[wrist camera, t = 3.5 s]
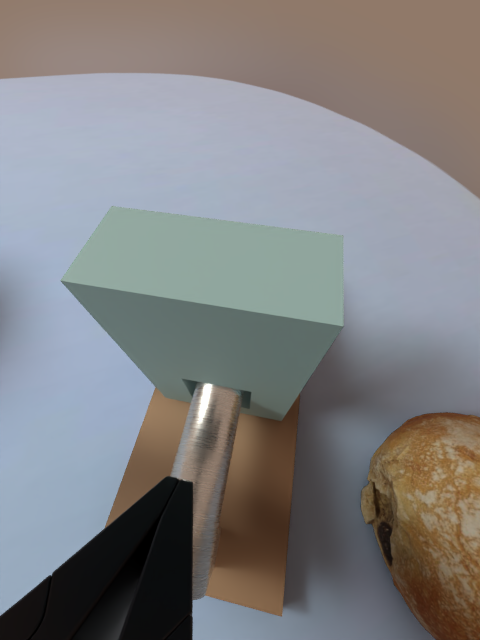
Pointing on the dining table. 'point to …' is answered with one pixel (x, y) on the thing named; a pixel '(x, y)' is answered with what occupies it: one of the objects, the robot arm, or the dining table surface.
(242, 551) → the walnut board
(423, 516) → the bread roll
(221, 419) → the grey metal pipe
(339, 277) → the sage green slotted block
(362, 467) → the dining table surface
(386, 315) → the dining table surface
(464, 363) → the dining table surface
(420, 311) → the dining table surface
